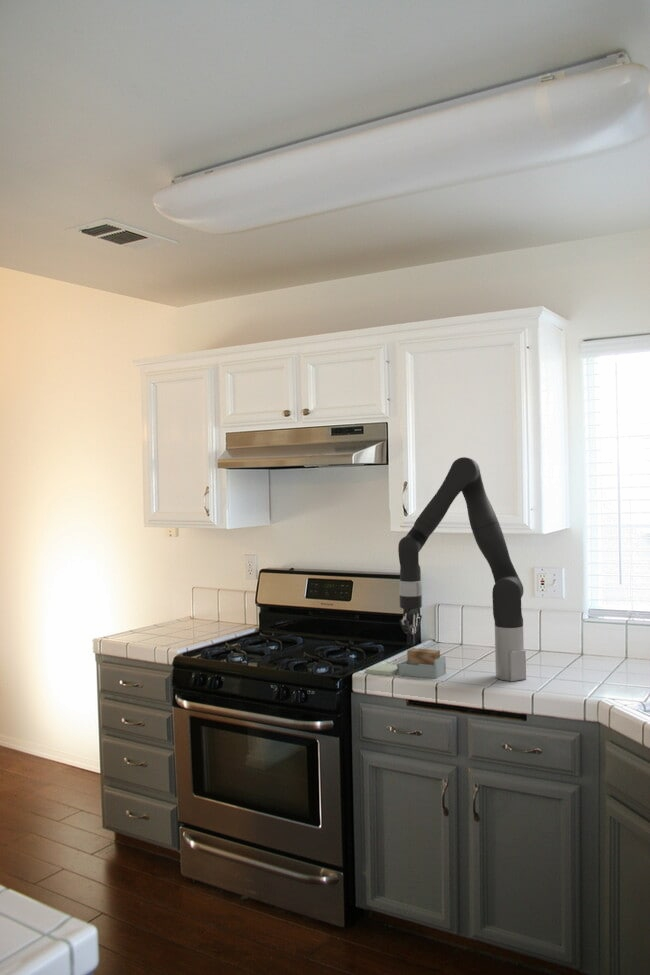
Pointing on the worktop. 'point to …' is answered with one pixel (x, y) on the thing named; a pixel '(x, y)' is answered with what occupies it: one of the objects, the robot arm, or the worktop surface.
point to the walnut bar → (422, 656)
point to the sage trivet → (382, 669)
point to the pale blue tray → (423, 668)
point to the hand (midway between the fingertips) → (411, 644)
